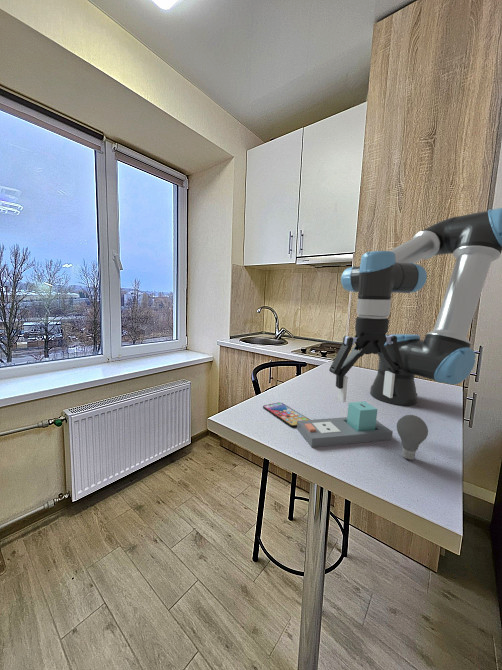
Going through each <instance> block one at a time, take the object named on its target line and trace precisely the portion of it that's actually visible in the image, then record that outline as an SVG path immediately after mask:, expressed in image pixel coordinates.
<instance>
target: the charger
mask: <svg viewBox="0 0 502 670" xmlns="http://www.w3.org/2000/svg"><path fill="white" fill-rule="evenodd" d="M377 415H378V408H377V407H375V406H373V405H371V404H370V403H368V402H367V401H353V402H351V401H350V402H348V406H347V416H346V417H347V424H349V425H350V426H351V427H352V428H353V429H355V430H356V431H357V432H359V431H370V430H375V426H376V420H377Z"/></svg>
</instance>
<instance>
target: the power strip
mask: <svg viewBox="0 0 502 670" xmlns="http://www.w3.org/2000/svg"><path fill="white" fill-rule="evenodd" d="M296 430H298V432H299V433H300V434H301V436H302V438H303V439H304V440H305V441H306V442H307V444H308V445H309V446H310V447H311V448H317V447H327V446H338V445H348V444H349V445H350V444H358V443H369V442H370V441H371V442H379V441H380V440H381V441H388V440H389V441H390V439H391V440H392V438H393V430H391V429H390V428H388V427H387V426H386V425H384V424H383V423H381V422H379V420H377V419H376V426H375V430H370V431H359V432H357V431H356V430H355V429H353V428H352V427H351V426H350V425H349V424H347V416H345V417H344V416H343V417H331V418H320V419H319V418H318V419H317V418H316V419H310V420H302V421H297V427H296Z"/></svg>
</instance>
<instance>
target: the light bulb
mask: <svg viewBox="0 0 502 670" xmlns="http://www.w3.org/2000/svg"><path fill="white" fill-rule="evenodd" d="M396 431H397V434H398V435H399V438H400V442H401V446H402V448H401V449H402V450H401V456H402V457H403V458H405V459H406V460H415V459H416V452H417V450H418V449H419V446H420V445H421V444H422V443H423V442H424V441H425V440H427V437H428V435H429V429H428V426H427V423H426V422H425V421H424V419H422V418H421V417H419V416H417V415H413V414H406V415H403V416H401V417H400V418H399V419H398V420H397V423H396Z"/></svg>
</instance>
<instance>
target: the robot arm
mask: <svg viewBox="0 0 502 670" xmlns="http://www.w3.org/2000/svg"><path fill="white" fill-rule="evenodd" d="M449 254H450V255H451V254H452V256H453V257H454V258H455V259H456V261H455V263H454V266H453V269H452V272H451V275H450V278H449V282H448V284H447V287H446V289H445V290H446V291H445V293H444V296H443V300H442V302H441V305H440V309H439V312H438V315H437V318H436V321H435V324H434V327H433V330H431V331H429V332H427V333H426V334H425V337H424V339H423V340H422V339H421V335H419V334H414V333H413V334H411V333H410V334H409V333H402V334H401V333H399V334H396V333H391V334H387V333H388V332H389V324H390V320H389V318H388V317H389V316H390V315H391V314H390V313H391V305H392V293H396V294H397V293H398V294H399V293H401V294H411V293H417V292H419V291H420V290H422V288H423V287H424V286H425V285H426V282H427V278H428V276H427V275H428V273H427V271H426V269H425V268H424V267H423V266H422V265H420V264H416V263H418V262H420V261H421V260H427V259H431V258H433V257H435V256H440V255H449ZM501 255H502V207H500V208H494V209H492V208H490V209H488V210H484V211H480V212H473V213H469V214H464V215H458V216H452V217H449V218H446V219H444V220H442V221H439V222H436V223H434V224H432V225H429V226H428V227H426V228H425V229H422V230H420V231H418V232H417V233H415V234H414V235H413V237H412V238H411V239H410V240H408V241H406V242H404V243H402V244H400V245H398V246H397V247H394V248H392V249H391V250H373V251H367V252H364V253H363V254H362V255H361V259H360V263H359V265H358V266H352V267H351V266H350V267H348V268H347V267H346V268H345V269H344V271H343V272H342V274H341V279H340V281H341V282H340V283H341V286H342V288H343V289H344V290H345V291H347V292H351V293H352V292H353V293H357V294H358V295H357V300H356V301H357V303H356V315H357V316H356V318H355V324H354V325H355V327H354V329H355V331H354V332H355V335H354V337H353V336H349V335H344V336H343V338H342V343H341V346H340V348H339V350H338V352H337V353H336V355H335V357H334V360H333V361H332V363H331V365H330V367H329V373H331V374H333V375H335V376H336V377H335V388H337V397H336V398H337V399H338V400H339V401H341V402H342V403H346V402H347V391H348V376H347V374H348V372H350V370H351V368H352V367H353V366H354V365H355V364H356V363H357V361H358V360H359V359H360V358H361V357H363V356H364V355H371V354H373V355H377V356H378V357H379V358H378V360H379V361H378V364H377V365H378V367H377V374H376V376H375V378H374V380H373V383H372V384H371V386H370V388H369V389H370V391H369V393H370V396H372V397H373V398H374V399H376V400H379V401H381V402H385V403H388V404H392V405H398V406H413V405H416V404H417V403H418V392H417V388H416V383H415V382H416V381H415V377H416V376H418V377H422V378H425V379H427V380H430V381H434V382H437V383H439V384H440V383H441V384H442V383H444V384H447V385H451V386H453V385H454V386H455V385H458V384H461V383H462V382H463V381H464V380H466V379H467V378H469V376H470V374H471V372H472V370H473V368H474V366H475V364H476V363H475V362H476V358H477V357H476V352H475V351H474V350H473V349H472V348H471V345H472V343H471V341H470V340H469V339H468V333H469V331H470V327H471V324H472V322H473V319H474V315H475V314H476V313H475V312H476V310H477V306H478V304H479V301H480V298H481V295H482V292H483V288H484V285H485V282H486V279H487V277H488V273H489V271H490V268H491V264H492V263H493V262H494V261H496V260H498V259H500V258H501Z"/></svg>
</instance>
